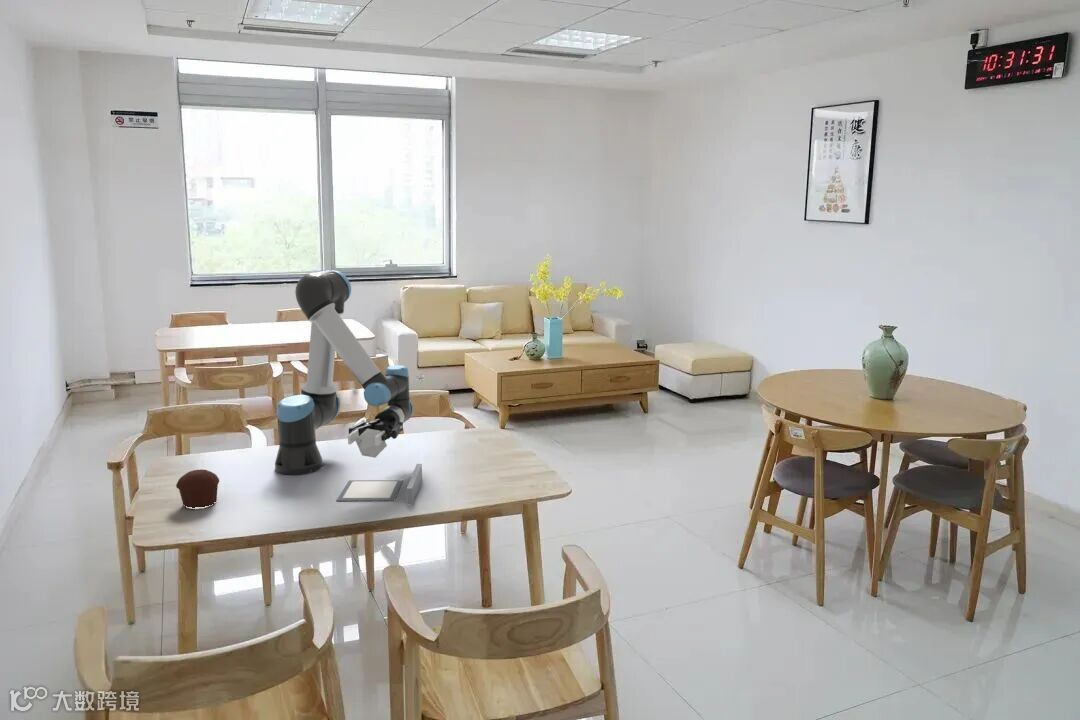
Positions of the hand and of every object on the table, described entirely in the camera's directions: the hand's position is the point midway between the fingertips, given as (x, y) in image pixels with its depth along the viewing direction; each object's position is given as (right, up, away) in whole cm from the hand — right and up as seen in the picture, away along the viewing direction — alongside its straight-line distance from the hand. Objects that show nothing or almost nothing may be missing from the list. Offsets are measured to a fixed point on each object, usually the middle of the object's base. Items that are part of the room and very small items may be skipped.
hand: (362, 440), depth 235 cm
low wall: (+14, -16, +8) cm, 23 cm away
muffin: (-47, -19, -2) cm, 51 cm away
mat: (+1, -16, +8) cm, 18 cm away
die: (+1, -5, +6) cm, 8 cm away
